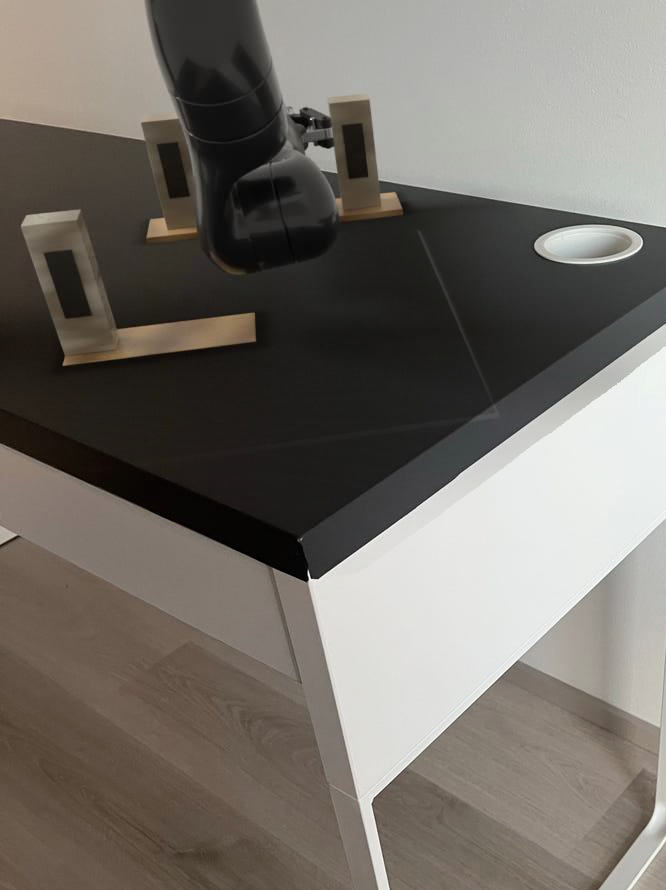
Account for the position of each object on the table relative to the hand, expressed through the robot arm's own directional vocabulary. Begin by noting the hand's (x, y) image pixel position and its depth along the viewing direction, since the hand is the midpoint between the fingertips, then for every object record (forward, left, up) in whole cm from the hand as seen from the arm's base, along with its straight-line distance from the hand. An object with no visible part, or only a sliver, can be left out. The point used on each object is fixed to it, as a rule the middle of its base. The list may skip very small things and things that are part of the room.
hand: (259, 116), depth 99 cm
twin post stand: (0, -3, -10) cm, 10 cm away
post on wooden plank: (-10, -32, -10) cm, 35 cm away
